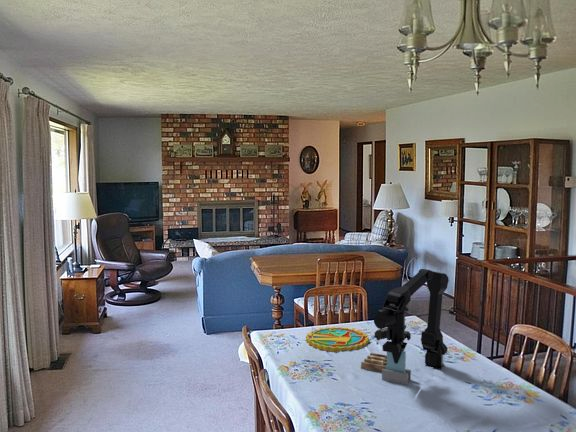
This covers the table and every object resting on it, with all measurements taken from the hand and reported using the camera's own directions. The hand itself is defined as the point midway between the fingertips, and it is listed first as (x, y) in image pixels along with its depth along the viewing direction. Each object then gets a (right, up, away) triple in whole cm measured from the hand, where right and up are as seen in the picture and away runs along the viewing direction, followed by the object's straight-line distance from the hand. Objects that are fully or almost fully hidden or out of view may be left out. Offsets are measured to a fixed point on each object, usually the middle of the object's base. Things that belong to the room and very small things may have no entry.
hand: (396, 362), depth 197 cm
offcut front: (-5, -5, +15) cm, 17 cm away
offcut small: (-6, -6, +11) cm, 14 cm away
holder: (0, -7, +1) cm, 7 cm away
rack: (-5, -6, +15) cm, 17 cm away
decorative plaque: (-19, -3, +47) cm, 50 cm away
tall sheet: (0, -5, +1) cm, 5 cm away
